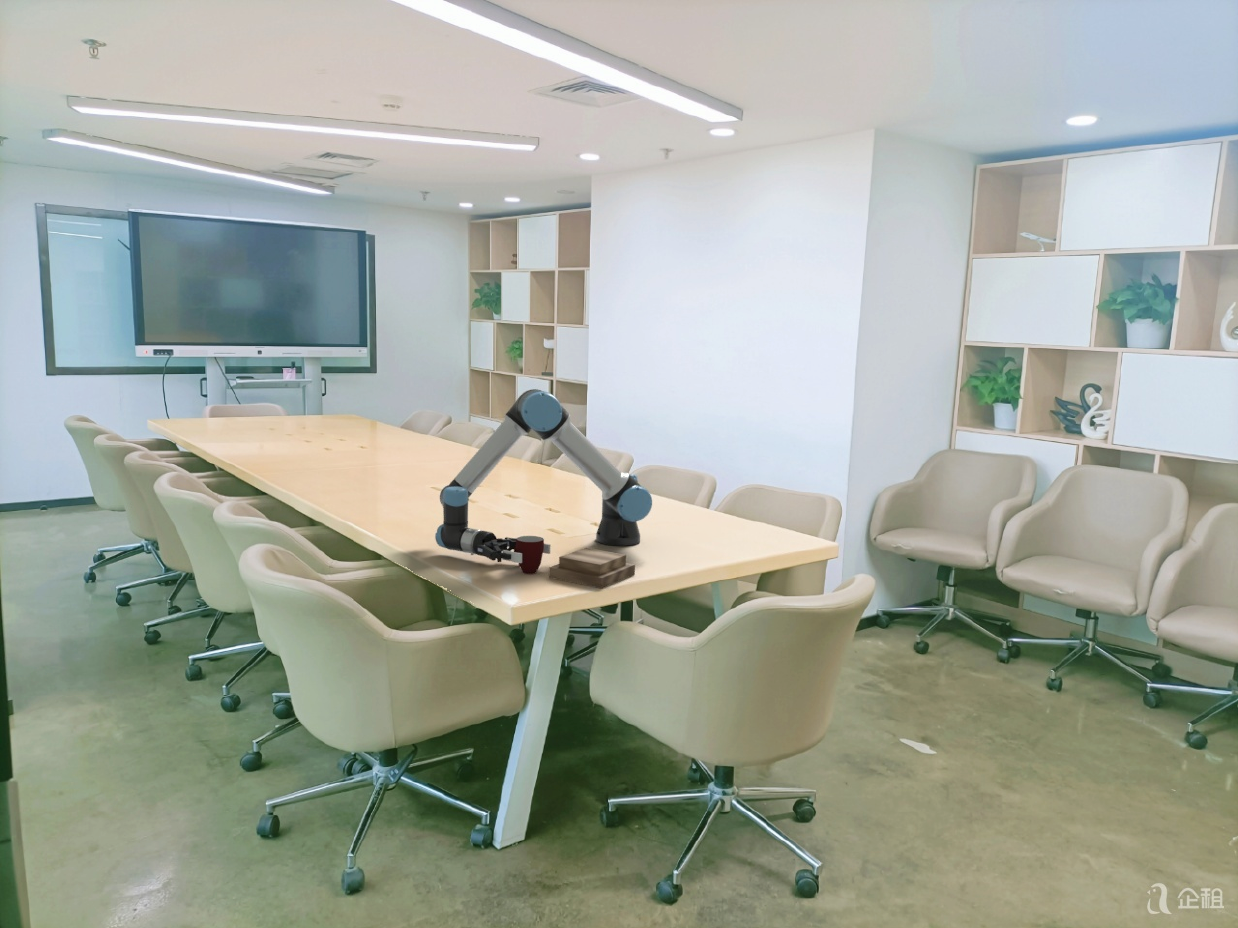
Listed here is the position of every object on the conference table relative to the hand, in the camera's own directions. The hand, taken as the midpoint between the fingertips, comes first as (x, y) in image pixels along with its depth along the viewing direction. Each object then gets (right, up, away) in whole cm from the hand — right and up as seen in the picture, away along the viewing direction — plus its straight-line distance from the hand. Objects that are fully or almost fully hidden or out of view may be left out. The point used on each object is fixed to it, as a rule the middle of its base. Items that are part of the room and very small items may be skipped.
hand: (535, 553), depth 251 cm
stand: (+16, -6, 0) cm, 18 cm away
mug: (-3, -6, +3) cm, 7 cm away
